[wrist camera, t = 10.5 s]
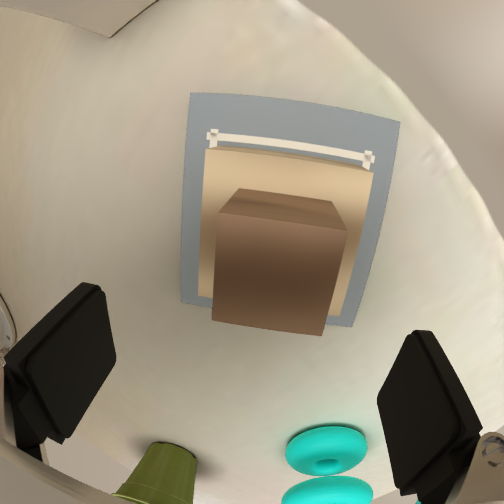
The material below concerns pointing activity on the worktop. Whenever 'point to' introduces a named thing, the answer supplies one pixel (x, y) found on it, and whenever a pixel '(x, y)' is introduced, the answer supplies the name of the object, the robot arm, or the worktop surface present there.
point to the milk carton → (84, 12)
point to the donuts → (327, 467)
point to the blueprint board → (291, 141)
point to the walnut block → (276, 261)
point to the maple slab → (285, 182)
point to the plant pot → (161, 477)
